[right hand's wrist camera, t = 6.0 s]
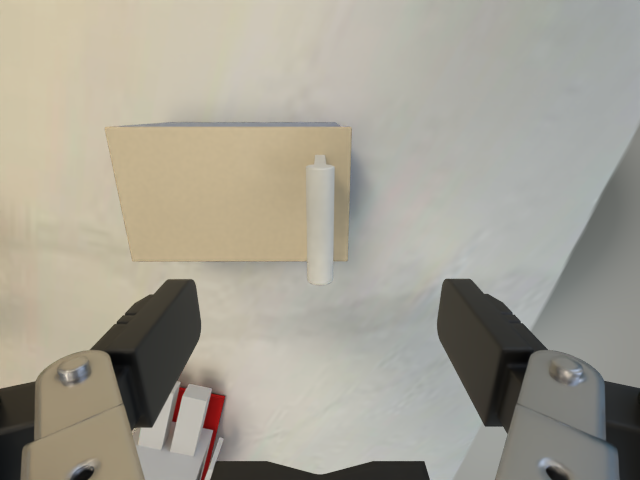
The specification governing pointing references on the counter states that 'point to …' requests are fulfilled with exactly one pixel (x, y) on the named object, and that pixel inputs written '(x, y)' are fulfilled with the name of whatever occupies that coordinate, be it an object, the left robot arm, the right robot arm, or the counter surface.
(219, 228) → the lid
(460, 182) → the counter surface
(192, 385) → the toy
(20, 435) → the right robot arm
